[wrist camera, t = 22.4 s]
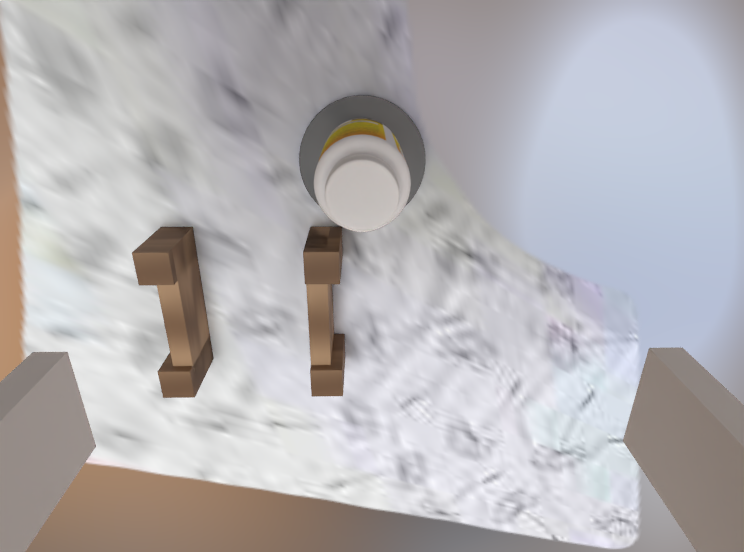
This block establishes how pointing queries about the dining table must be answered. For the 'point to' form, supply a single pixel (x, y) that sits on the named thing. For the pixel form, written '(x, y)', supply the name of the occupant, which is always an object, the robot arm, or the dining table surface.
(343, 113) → the slate coaster
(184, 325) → the walnut channel
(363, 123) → the supplement bottle
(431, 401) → the dining table surface
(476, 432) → the dining table surface
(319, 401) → the dining table surface
